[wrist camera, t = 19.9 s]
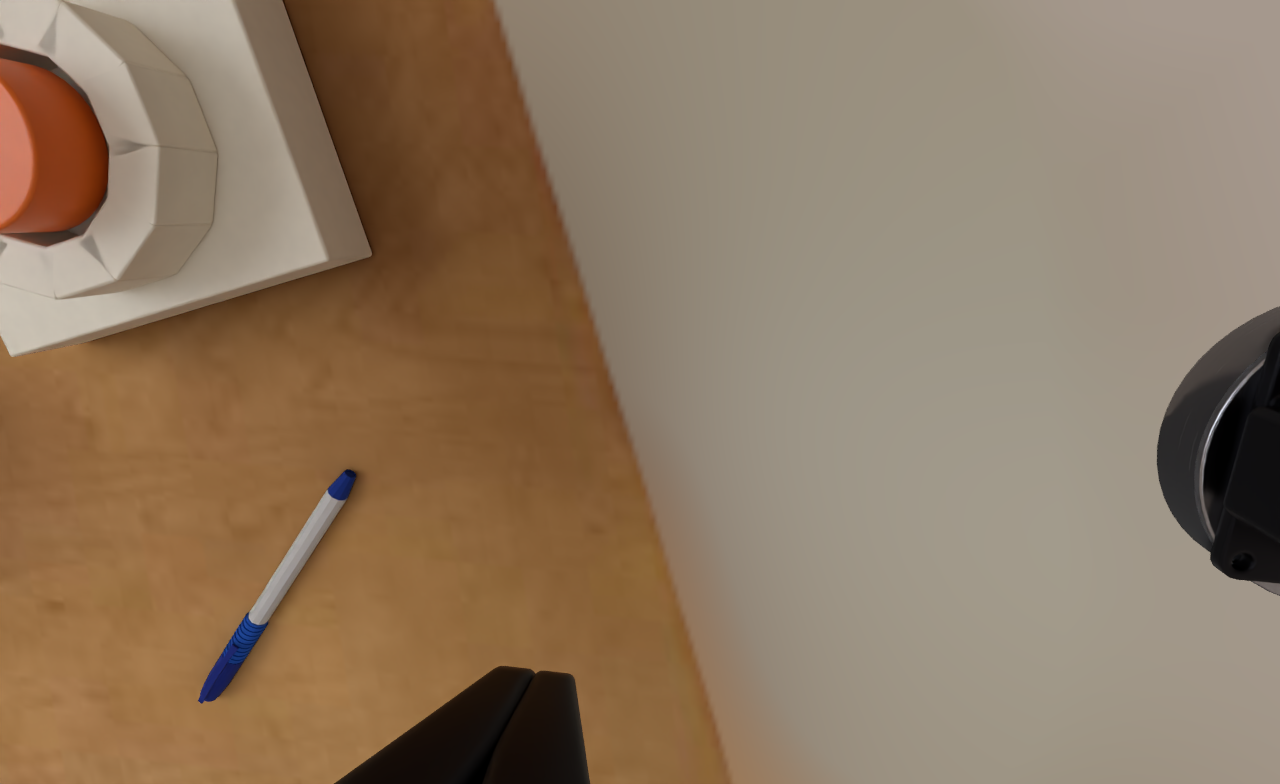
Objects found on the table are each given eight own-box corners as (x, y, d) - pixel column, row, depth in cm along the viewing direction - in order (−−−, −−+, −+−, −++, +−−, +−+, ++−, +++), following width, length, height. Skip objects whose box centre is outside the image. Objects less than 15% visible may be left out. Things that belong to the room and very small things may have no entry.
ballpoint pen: (228, 698, 24) (208, 718, 23) (207, 684, 24) (185, 704, 23) (364, 474, 21) (347, 486, 20) (340, 457, 21) (321, 469, 20)
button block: (263, -57, 17) (130, -135, 13) (374, 255, 19) (283, 266, 15) (-43, 69, 19) (-238, 32, 15) (82, 343, 21) (-64, 372, 17)
